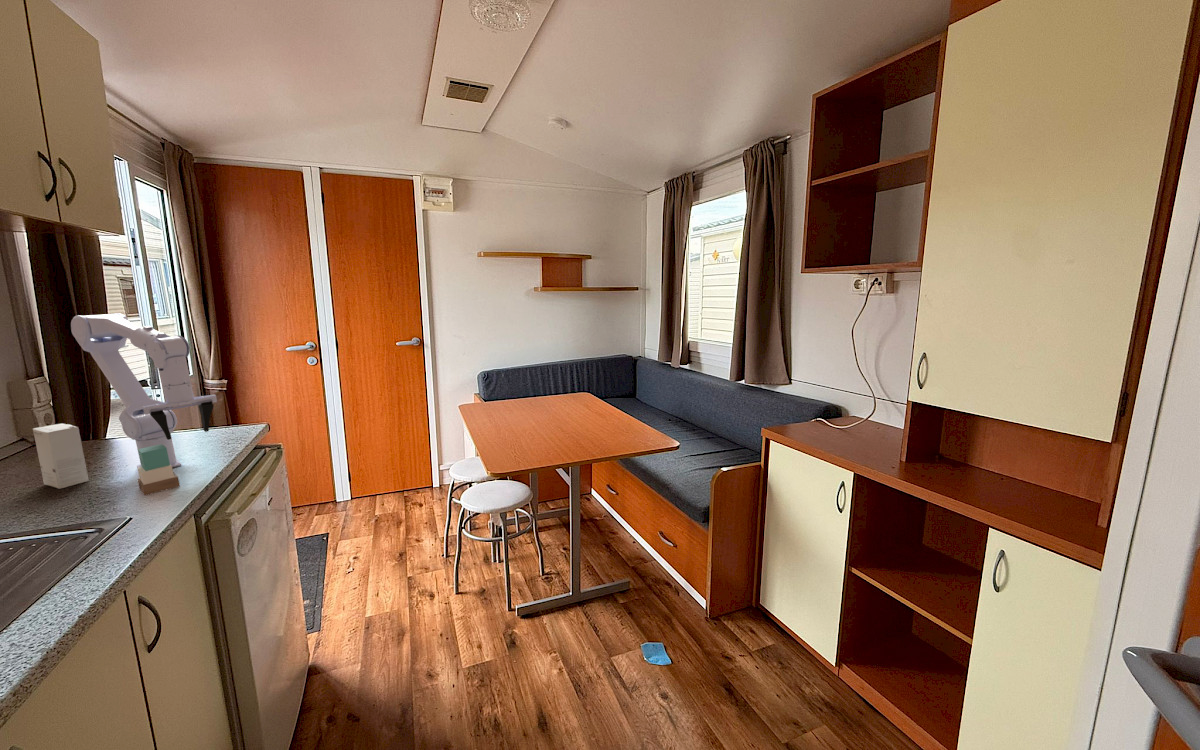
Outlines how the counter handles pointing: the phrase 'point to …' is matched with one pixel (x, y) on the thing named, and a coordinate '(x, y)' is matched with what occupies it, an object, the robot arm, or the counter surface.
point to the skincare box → (60, 455)
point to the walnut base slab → (159, 485)
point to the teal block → (153, 457)
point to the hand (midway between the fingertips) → (188, 434)
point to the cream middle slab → (155, 474)
